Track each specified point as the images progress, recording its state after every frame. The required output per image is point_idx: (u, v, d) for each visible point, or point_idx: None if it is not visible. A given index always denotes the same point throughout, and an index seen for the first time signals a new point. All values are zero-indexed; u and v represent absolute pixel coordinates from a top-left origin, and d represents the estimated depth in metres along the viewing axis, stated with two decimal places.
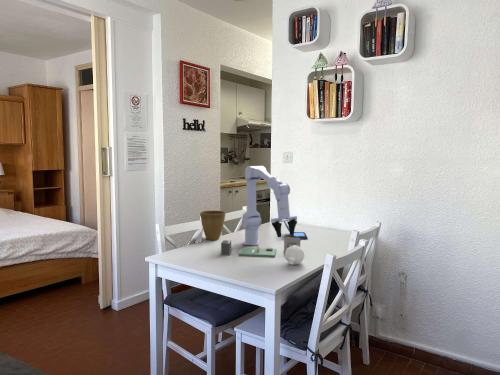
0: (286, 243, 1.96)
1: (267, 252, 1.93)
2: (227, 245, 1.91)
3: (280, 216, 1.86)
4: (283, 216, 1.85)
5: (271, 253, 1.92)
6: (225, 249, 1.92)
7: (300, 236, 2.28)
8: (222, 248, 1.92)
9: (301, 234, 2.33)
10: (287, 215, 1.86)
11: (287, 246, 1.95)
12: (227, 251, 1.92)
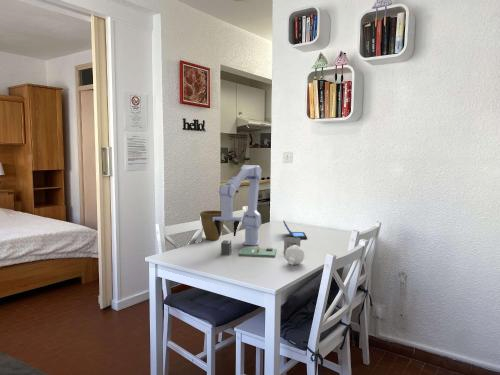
0: (286, 243, 1.96)
1: (267, 252, 1.93)
2: (227, 245, 1.91)
3: (221, 216, 1.92)
4: (222, 216, 1.91)
5: (271, 253, 1.92)
6: (225, 249, 1.92)
7: (300, 236, 2.28)
8: (222, 248, 1.92)
9: (301, 234, 2.34)
10: (226, 216, 1.90)
11: (287, 246, 1.95)
12: (227, 251, 1.92)
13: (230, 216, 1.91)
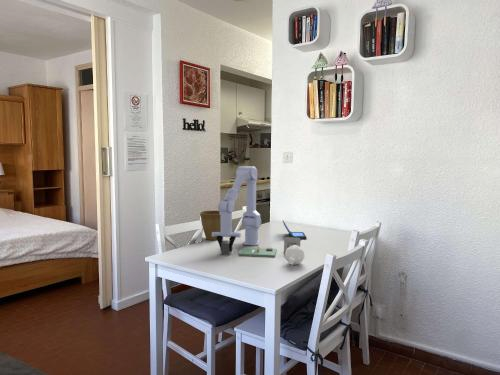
0: (286, 243, 1.96)
1: (267, 252, 1.93)
2: (227, 245, 1.91)
3: None
4: (221, 232, 1.92)
5: (271, 253, 1.92)
6: (225, 249, 1.92)
7: (299, 236, 2.28)
8: (222, 248, 1.92)
9: (300, 234, 2.34)
10: (225, 232, 1.91)
11: (287, 246, 1.95)
12: (227, 251, 1.92)
13: (229, 232, 1.92)
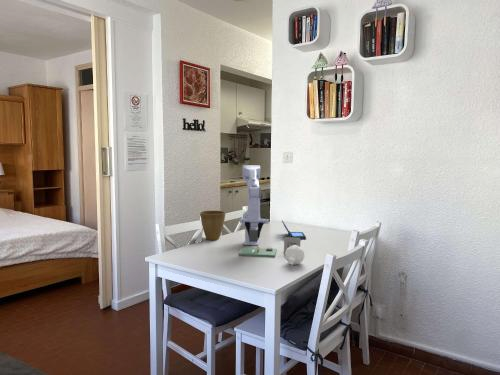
0: (286, 243, 1.96)
1: (267, 252, 1.93)
2: (255, 232, 1.91)
3: (248, 217, 1.94)
4: (250, 218, 1.92)
5: (271, 253, 1.92)
6: (253, 236, 1.92)
7: (298, 236, 2.28)
8: (250, 235, 1.92)
9: (299, 234, 2.34)
10: (253, 218, 1.91)
11: (287, 246, 1.95)
12: (255, 238, 1.92)
13: (257, 218, 1.92)
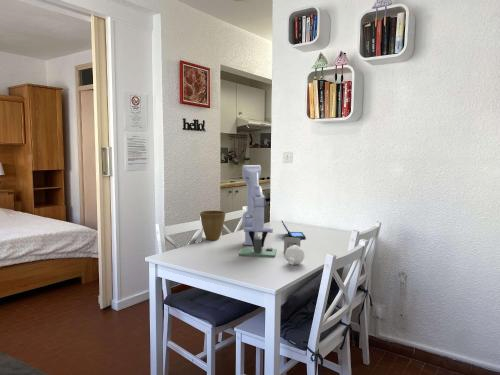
0: (286, 243, 1.96)
1: (267, 252, 1.93)
2: (260, 241, 1.92)
3: (252, 227, 1.94)
4: (254, 227, 1.93)
5: (271, 253, 1.92)
6: (257, 245, 1.92)
7: (298, 236, 2.28)
8: (254, 244, 1.92)
9: (299, 234, 2.34)
10: (257, 227, 1.92)
11: (287, 246, 1.95)
12: (259, 247, 1.92)
13: (261, 227, 1.92)
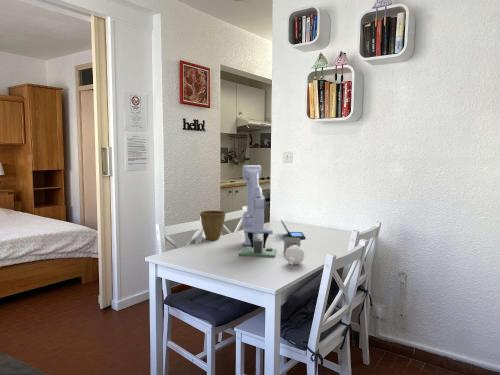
0: (286, 243, 1.96)
1: (267, 252, 1.93)
2: (259, 243, 1.92)
3: (252, 228, 1.94)
4: (254, 229, 1.93)
5: (271, 253, 1.92)
6: (257, 247, 1.92)
7: (298, 236, 2.28)
8: (254, 246, 1.93)
9: (299, 234, 2.34)
10: (257, 229, 1.92)
11: (287, 246, 1.95)
12: (259, 249, 1.92)
13: (261, 228, 1.92)
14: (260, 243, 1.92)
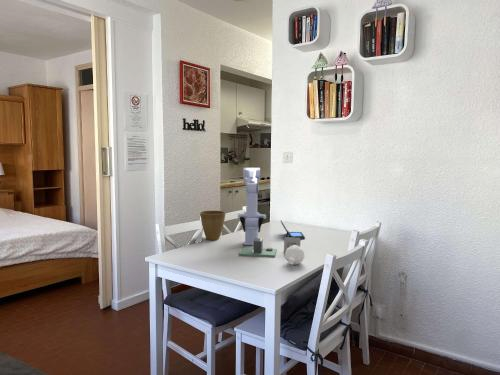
0: (286, 243, 1.96)
1: (267, 252, 1.93)
2: (259, 243, 1.92)
3: (246, 213, 1.99)
4: (247, 213, 1.98)
5: (271, 253, 1.92)
6: (257, 247, 1.92)
7: (297, 236, 2.28)
8: (254, 246, 1.93)
9: (298, 234, 2.34)
10: (251, 213, 1.97)
11: (287, 246, 1.95)
12: (259, 249, 1.92)
13: (255, 213, 1.97)
14: (260, 243, 1.92)
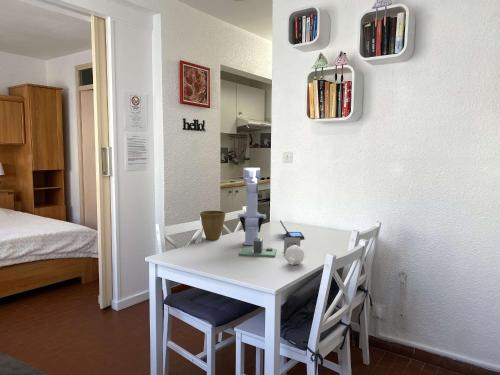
0: (286, 243, 1.96)
1: (267, 252, 1.93)
2: (259, 243, 1.92)
3: (246, 213, 1.99)
4: (247, 213, 1.98)
5: (271, 253, 1.92)
6: (257, 247, 1.92)
7: (297, 236, 2.28)
8: (254, 246, 1.93)
9: (298, 234, 2.34)
10: (251, 213, 1.97)
11: (287, 246, 1.95)
12: (259, 249, 1.92)
13: (255, 213, 1.97)
14: (260, 243, 1.92)
